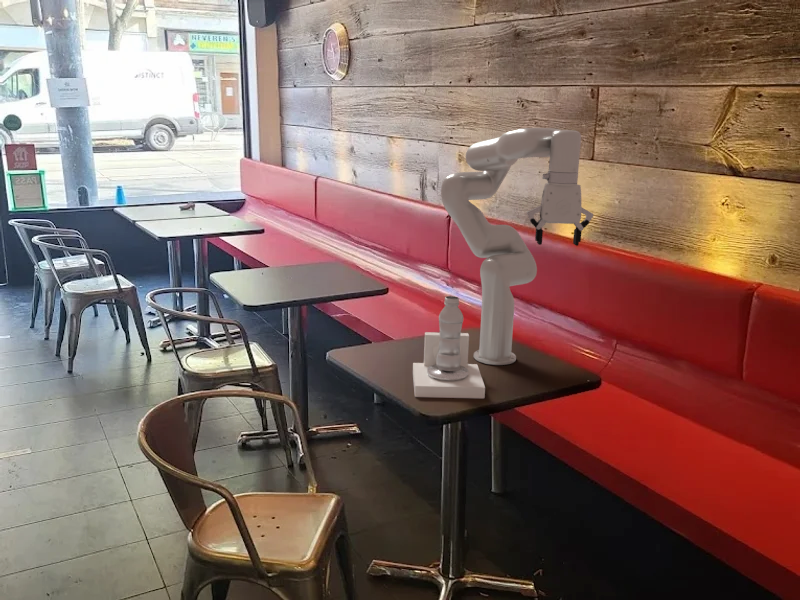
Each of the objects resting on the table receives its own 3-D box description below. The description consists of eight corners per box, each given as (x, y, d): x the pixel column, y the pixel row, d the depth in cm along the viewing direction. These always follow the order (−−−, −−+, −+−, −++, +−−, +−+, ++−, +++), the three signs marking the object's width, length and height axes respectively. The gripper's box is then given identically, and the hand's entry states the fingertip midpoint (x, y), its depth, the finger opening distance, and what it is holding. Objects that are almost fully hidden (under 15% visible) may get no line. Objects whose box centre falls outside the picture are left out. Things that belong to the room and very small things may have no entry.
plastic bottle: (445, 364, 206) (448, 293, 201) (465, 370, 201) (469, 297, 196) (430, 369, 201) (434, 297, 196) (451, 376, 197) (455, 302, 192)
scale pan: (426, 366, 206) (426, 362, 206) (466, 367, 207) (466, 363, 206) (428, 380, 196) (428, 376, 196) (470, 381, 196) (470, 377, 196)
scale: (412, 372, 211) (414, 332, 208) (476, 374, 211) (478, 333, 208) (414, 396, 193) (416, 352, 190) (484, 398, 193) (487, 354, 190)
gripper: (532, 179, 190) (527, 246, 194) (600, 181, 190) (593, 247, 194) (526, 176, 197) (522, 241, 201) (592, 178, 197) (586, 242, 202)
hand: (557, 244), depth 198 cm, fingers open, 9 cm apart
